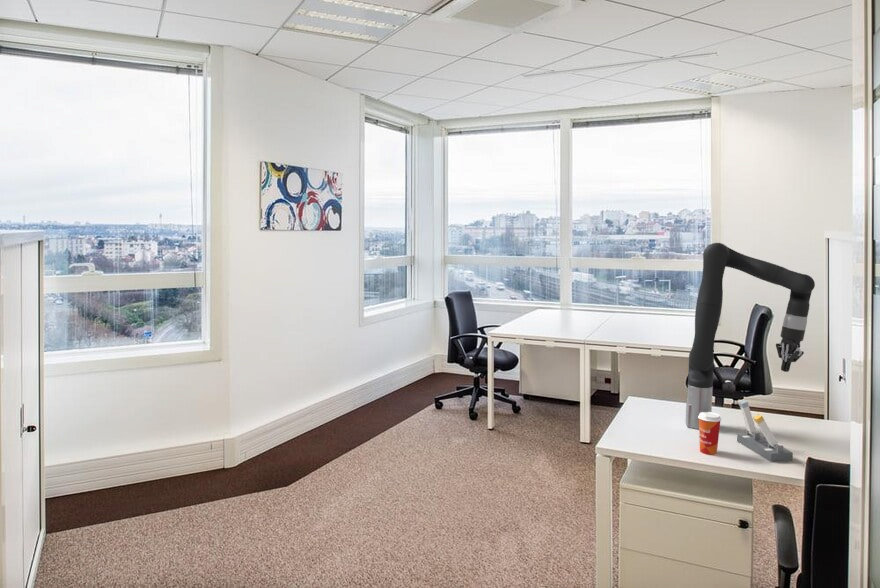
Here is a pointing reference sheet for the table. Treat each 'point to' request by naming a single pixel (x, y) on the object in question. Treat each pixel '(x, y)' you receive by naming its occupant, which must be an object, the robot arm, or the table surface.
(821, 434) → the table surface
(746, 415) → the toggle
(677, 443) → the table surface
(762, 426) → the toggle
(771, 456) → the toggle switch base
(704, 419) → the paper cup
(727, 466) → the table surface
